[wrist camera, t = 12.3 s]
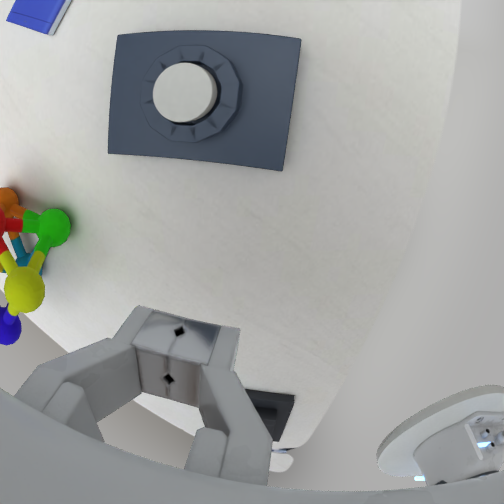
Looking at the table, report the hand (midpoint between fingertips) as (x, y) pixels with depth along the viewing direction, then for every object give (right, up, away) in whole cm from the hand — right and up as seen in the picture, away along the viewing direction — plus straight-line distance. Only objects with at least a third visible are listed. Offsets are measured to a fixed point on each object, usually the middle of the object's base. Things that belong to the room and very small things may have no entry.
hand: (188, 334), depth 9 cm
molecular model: (-22, +4, +21) cm, 31 cm away
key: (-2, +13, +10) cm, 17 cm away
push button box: (-2, +15, +14) cm, 20 cm away
